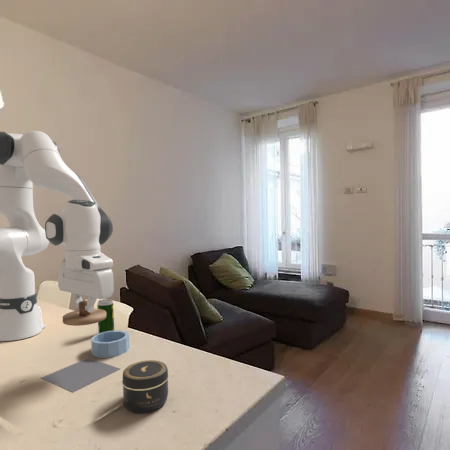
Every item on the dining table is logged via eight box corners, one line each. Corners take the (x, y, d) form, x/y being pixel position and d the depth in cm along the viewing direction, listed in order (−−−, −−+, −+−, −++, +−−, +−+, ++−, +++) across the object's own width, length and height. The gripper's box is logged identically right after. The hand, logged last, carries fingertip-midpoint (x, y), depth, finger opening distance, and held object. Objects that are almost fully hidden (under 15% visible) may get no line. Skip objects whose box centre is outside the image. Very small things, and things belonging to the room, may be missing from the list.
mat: (40, 380, 87) (40, 377, 87) (88, 360, 99) (88, 357, 99) (72, 395, 80) (72, 392, 80) (120, 371, 91) (120, 368, 91)
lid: (54, 320, 91) (53, 303, 90) (90, 310, 100) (90, 294, 100) (78, 328, 85) (78, 309, 84) (114, 316, 94) (114, 299, 94)
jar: (126, 420, 70) (125, 383, 69) (120, 396, 79) (119, 364, 79) (173, 408, 74) (172, 373, 73) (163, 387, 83) (162, 356, 83)
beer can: (100, 337, 117) (99, 303, 117) (96, 333, 122) (95, 300, 121) (116, 334, 120) (115, 301, 120) (112, 330, 125) (110, 298, 124)
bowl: (84, 355, 103) (83, 339, 103) (113, 343, 112) (113, 328, 112) (107, 363, 97) (106, 345, 97) (136, 350, 106) (135, 334, 106)
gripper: (51, 258, 95) (52, 307, 95) (96, 264, 83) (97, 319, 84) (72, 256, 100) (73, 302, 101) (117, 261, 89) (118, 313, 89)
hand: (84, 310), depth 92 cm, fingers closed on lid, 3 cm apart
